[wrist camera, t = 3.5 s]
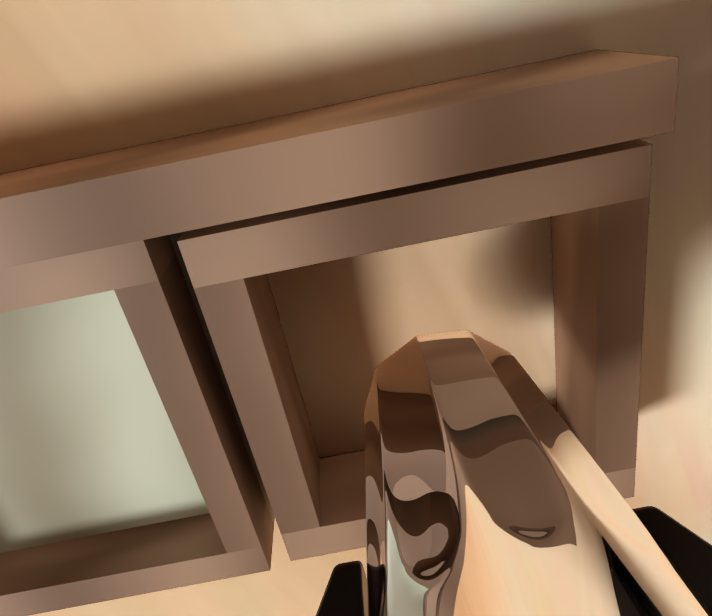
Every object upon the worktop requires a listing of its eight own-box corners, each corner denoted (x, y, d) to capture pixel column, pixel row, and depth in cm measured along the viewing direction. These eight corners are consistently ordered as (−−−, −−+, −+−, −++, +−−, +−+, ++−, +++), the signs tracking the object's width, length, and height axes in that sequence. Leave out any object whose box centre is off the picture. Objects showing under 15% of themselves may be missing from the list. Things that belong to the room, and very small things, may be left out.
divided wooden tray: (597, 49, 12) (679, 57, 9) (595, 437, 17) (647, 516, 14) (-266, 229, 12) (-424, 286, 10) (-27, 556, 17) (-89, 653, 15)
